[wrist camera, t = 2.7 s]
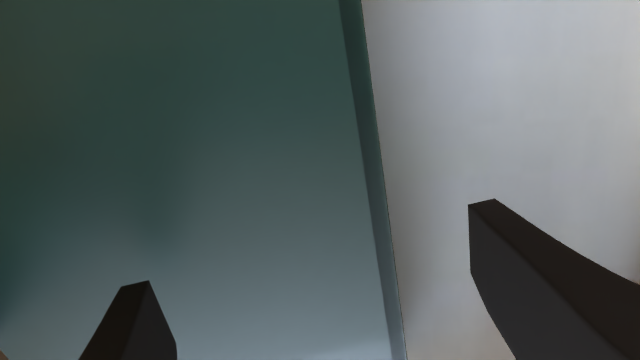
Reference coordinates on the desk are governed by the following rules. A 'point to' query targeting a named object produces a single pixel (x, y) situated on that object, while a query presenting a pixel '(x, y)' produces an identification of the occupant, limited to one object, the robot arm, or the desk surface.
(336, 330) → the book
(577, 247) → the desk surface
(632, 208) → the desk surface
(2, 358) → the orange cylinder
